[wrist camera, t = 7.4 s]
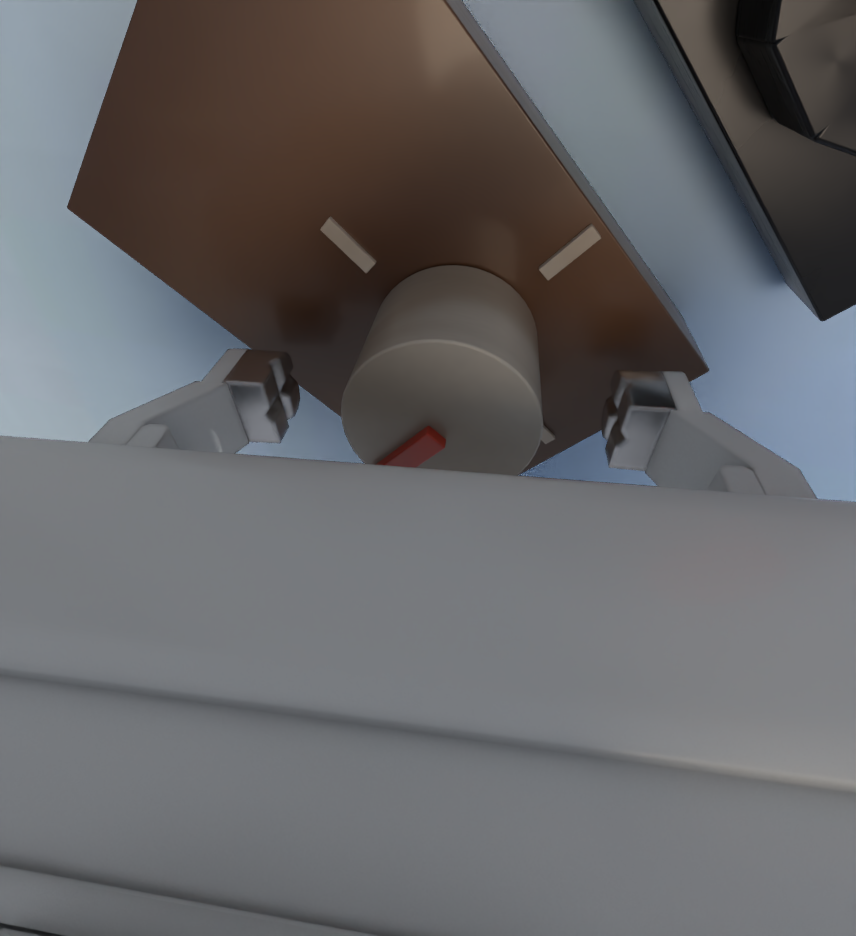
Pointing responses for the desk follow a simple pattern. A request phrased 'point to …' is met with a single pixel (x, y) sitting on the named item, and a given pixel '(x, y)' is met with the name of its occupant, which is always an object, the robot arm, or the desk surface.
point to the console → (362, 189)
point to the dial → (448, 377)
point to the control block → (778, 124)
